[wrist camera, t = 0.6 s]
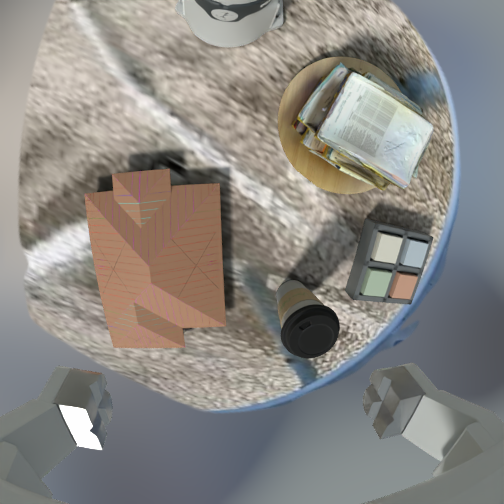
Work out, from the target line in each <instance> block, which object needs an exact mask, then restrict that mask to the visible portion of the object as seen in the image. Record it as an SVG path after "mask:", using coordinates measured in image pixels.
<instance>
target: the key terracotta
mask: <svg viewBox="0 0 504 504" xmlns="http://www.w3.org/2000/svg"><path fill="white" fill-rule="evenodd" d="M417 279H418V277H417V276H416V275H415V274H413V273H407V272H400V271H397V272H396V275H395V278H394V281H393V284H392V287H391V289H390V292H389V295H390V296H391V297H392V298H401V299H410V298H411V296H412V293H413V290H414V287H415V285H416V282H417Z"/></svg>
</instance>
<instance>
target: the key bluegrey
mask: <svg viewBox="0 0 504 504" xmlns="http://www.w3.org/2000/svg"><path fill="white" fill-rule="evenodd" d="M428 245H429V244H427V243H425V242H423V241H419V240H415V239H410V238H407V239H406V242H405V246H404V249H403V253H402V256H401V259H400V263H401V264H403V265H407V266H413V267H419V268H421V267H422V264H423V261H424V258H425V255H426V251H427V248H428Z"/></svg>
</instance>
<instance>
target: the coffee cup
mask: <svg viewBox="0 0 504 504" xmlns="http://www.w3.org/2000/svg"><path fill="white" fill-rule="evenodd" d="M276 298H277V303H278V313H279V318H280V323H281V328H282V330H281V340H282V343H283V345H284V346H285V348H286V349H287V350H288V351H289V352H290V353H292V354H294V355H296V356H299V357H302V358H315V357H318V356H321V355H323V354H324V353H326V352H327V351H329V350H330V349H331V348H332V347H333V345H334V344H335V342H336V340H337V338H338V334H339V329H340V325H339V320H338V317H337V315H336V313H335V312H334V311H333V310H332V309H331V308H329V307H327V306H324V304H323V303H322V302H321V301H320V300H319V299H318V298H317V297H316V296H315V295H314V294H313V293H312V292H311V291H309V290H308V289H307V288H306V287H305V286H304V285H303V284H302V283H300V282H299V281H296V280H290V281H287V282H285V283H284V284H282V285H281V286H280V287H279V288H278V290H277V293H276Z"/></svg>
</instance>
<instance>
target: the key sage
mask: <svg viewBox="0 0 504 504" xmlns="http://www.w3.org/2000/svg"><path fill="white" fill-rule="evenodd" d="M391 276H392V273H391V272H390V271H388V270H386V269H380V268H373V267H368V268H367V271H366V274H365V278H364V281H363V284H362V287H361V290H360V292H361V293H362V294H363V295H368V296H379V297H384V296H385V294H386V291H387V288H388V285H389V282H390V279H391Z"/></svg>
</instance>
